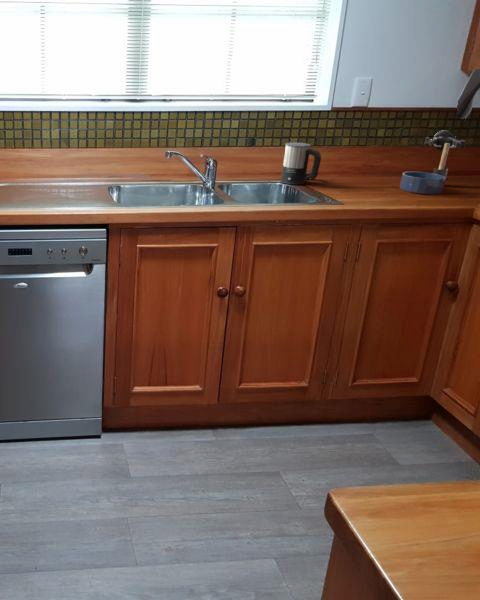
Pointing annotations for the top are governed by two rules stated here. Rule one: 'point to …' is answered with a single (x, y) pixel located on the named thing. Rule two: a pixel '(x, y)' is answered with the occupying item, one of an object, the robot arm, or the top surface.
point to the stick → (444, 156)
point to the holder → (440, 172)
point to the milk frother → (299, 163)
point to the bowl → (422, 182)
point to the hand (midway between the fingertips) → (445, 144)
